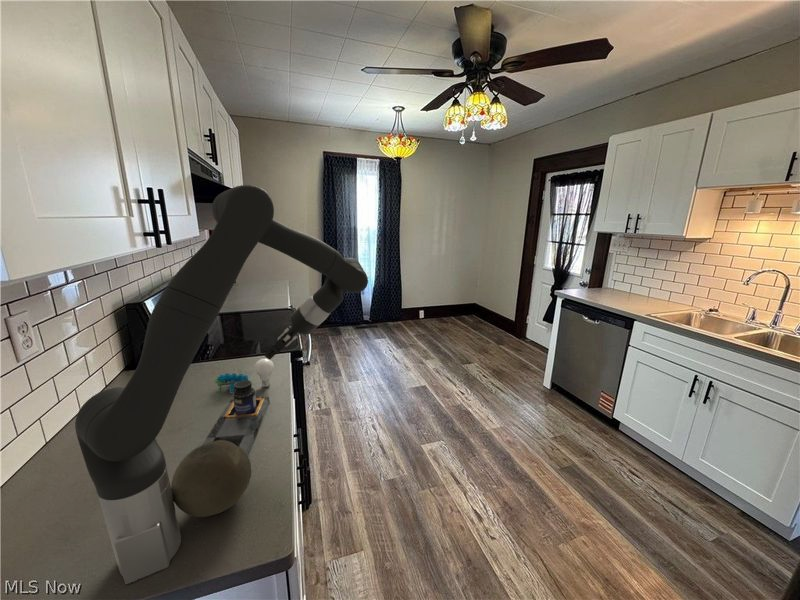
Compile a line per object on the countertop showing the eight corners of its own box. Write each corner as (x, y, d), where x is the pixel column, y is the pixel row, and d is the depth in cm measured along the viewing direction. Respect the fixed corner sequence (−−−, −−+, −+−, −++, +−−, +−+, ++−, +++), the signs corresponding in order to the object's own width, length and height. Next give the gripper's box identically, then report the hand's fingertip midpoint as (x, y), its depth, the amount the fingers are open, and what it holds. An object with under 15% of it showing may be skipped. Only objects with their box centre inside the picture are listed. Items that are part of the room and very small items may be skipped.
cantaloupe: (194, 486, 74) (184, 431, 70) (259, 476, 77) (253, 423, 73) (166, 545, 61) (152, 482, 57) (246, 531, 64) (237, 469, 60)
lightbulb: (252, 388, 115) (249, 360, 112) (267, 380, 121) (264, 354, 118) (265, 392, 113) (262, 364, 110) (279, 384, 118) (276, 357, 115)
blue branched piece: (253, 377, 119) (240, 369, 111) (251, 393, 116) (238, 386, 108) (224, 381, 119) (209, 374, 110) (221, 397, 116) (206, 391, 107)
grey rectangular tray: (243, 466, 80) (242, 457, 79) (191, 472, 78) (190, 462, 77) (269, 403, 106) (269, 396, 106) (231, 406, 105) (230, 398, 104)
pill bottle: (233, 422, 97) (229, 390, 94) (238, 410, 102) (234, 379, 99) (255, 419, 98) (252, 387, 95) (258, 407, 104) (255, 377, 101)
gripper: (308, 299, 96) (272, 333, 98) (292, 312, 82) (251, 352, 84) (326, 316, 97) (290, 350, 100) (313, 332, 83) (273, 370, 86)
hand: (273, 350), depth 92 cm, fingers open, 8 cm apart
